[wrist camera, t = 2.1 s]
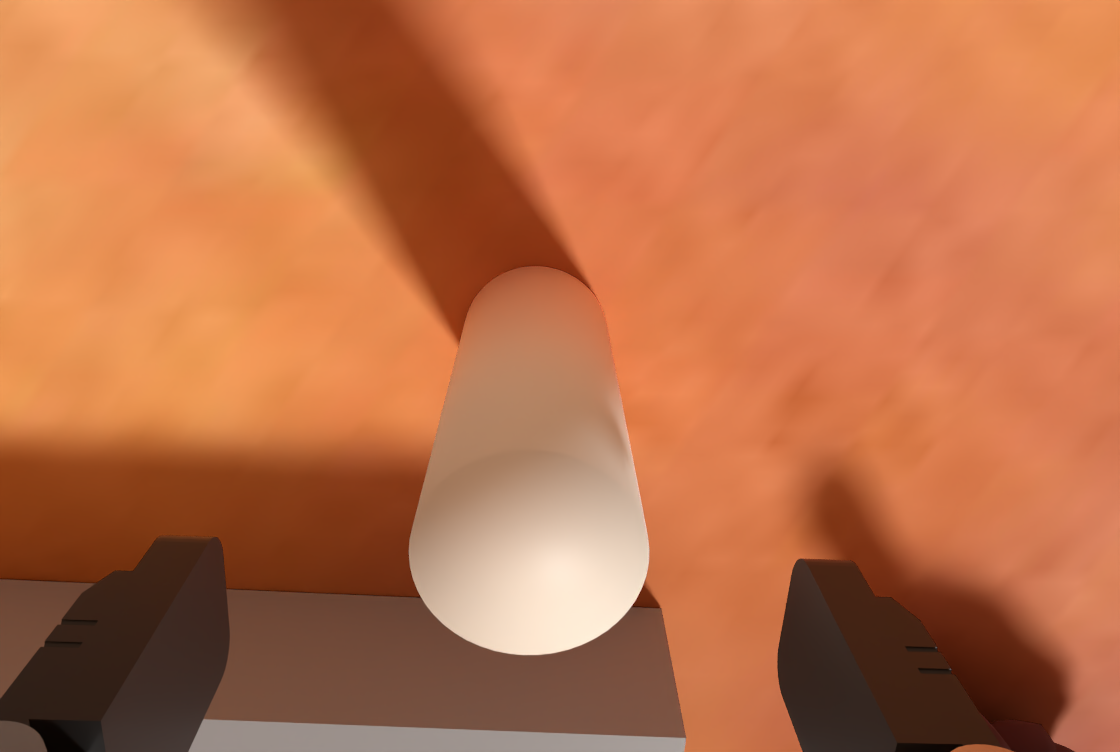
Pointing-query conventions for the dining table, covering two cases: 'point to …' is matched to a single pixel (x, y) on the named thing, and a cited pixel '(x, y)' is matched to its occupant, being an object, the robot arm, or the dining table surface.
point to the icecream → (1023, 736)
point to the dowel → (531, 476)
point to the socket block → (398, 678)
